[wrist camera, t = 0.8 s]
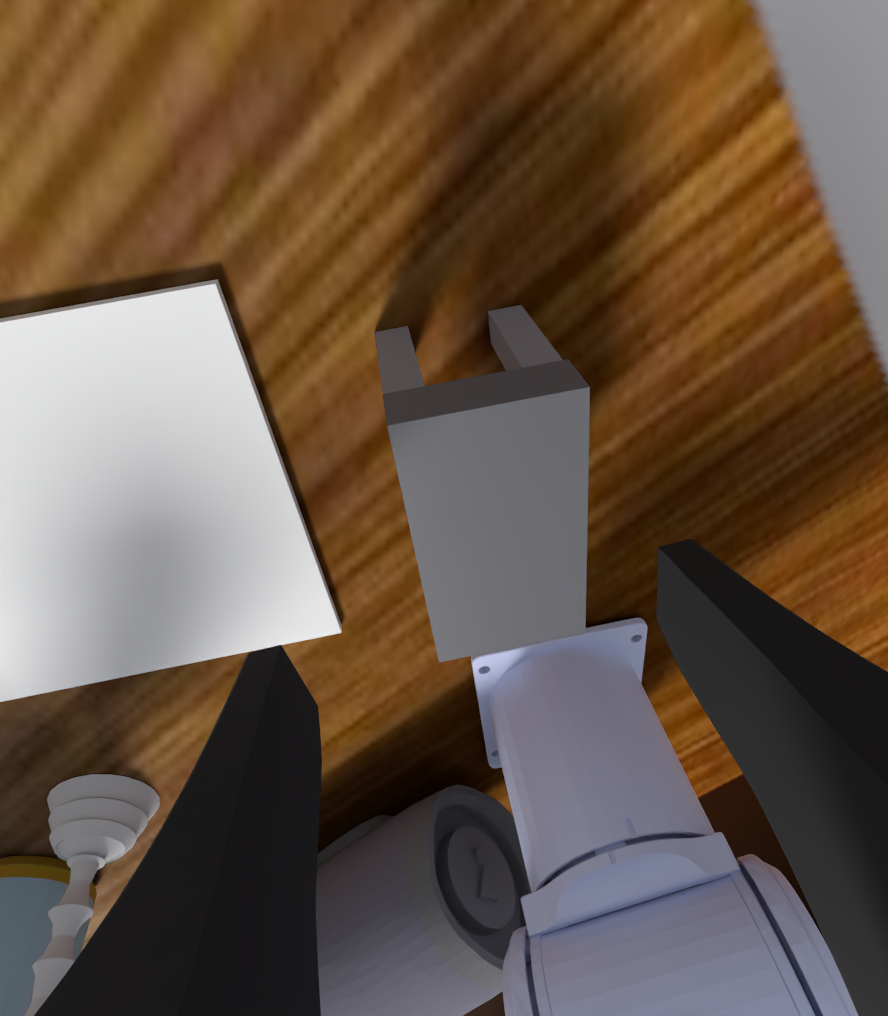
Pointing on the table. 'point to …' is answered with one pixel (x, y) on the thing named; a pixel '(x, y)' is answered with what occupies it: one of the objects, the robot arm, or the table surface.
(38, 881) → the bottle
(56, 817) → the chalice
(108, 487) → the mat
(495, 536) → the stool
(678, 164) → the table surface
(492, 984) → the bluetooth speaker
